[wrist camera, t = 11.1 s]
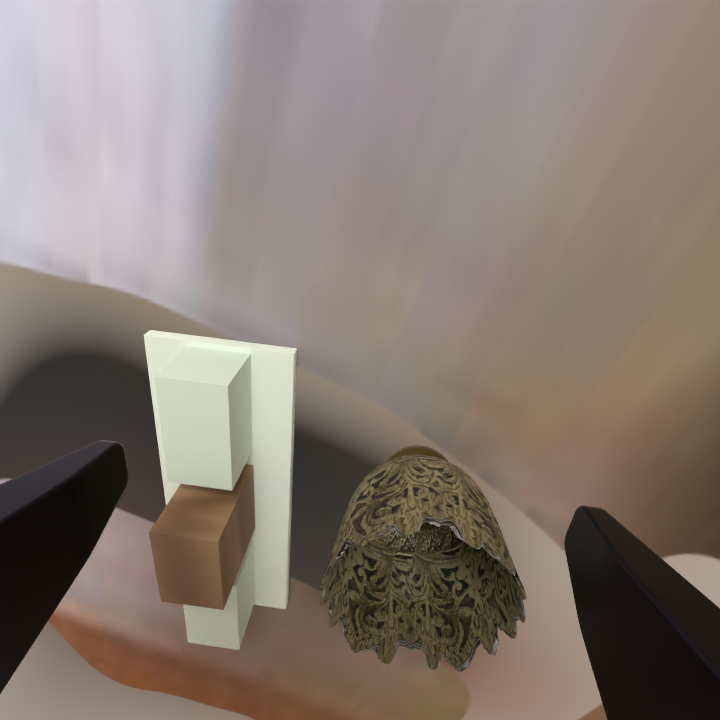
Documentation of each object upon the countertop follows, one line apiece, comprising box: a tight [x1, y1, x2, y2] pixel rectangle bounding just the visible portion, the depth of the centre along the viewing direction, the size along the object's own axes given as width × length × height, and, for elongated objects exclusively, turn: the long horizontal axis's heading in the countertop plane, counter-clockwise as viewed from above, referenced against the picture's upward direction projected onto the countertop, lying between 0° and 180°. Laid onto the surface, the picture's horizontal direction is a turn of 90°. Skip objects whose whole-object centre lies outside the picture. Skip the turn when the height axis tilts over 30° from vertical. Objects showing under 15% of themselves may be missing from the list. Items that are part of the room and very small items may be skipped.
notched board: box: [144, 330, 297, 650], centre depth 24 cm, size 7×18×4 cm, turn 174°
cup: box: [320, 445, 526, 671], centre depth 20 cm, size 8×7×8 cm
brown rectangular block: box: [149, 464, 255, 610], centre depth 23 cm, size 3×4×5 cm, turn 175°
